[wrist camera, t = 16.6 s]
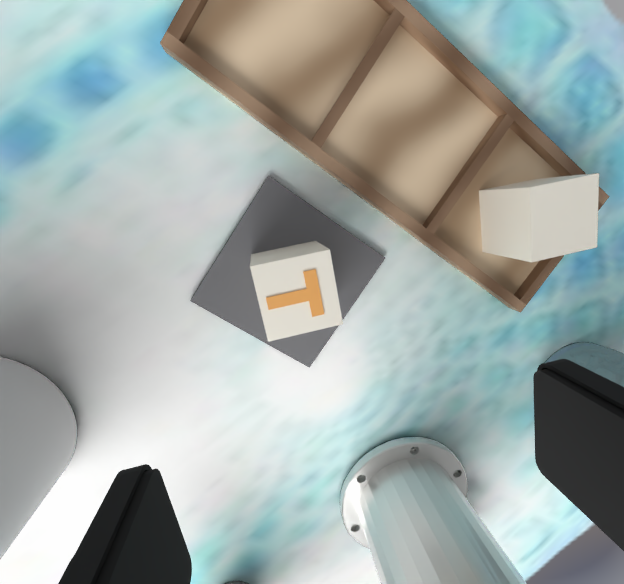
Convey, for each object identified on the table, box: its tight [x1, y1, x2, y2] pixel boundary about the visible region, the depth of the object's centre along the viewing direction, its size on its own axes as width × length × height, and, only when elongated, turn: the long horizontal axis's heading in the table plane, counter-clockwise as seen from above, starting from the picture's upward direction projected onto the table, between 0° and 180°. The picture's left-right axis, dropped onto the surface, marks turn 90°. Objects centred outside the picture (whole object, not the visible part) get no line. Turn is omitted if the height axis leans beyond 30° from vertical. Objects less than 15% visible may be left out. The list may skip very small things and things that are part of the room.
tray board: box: [160, 0, 609, 312], centre depth 26 cm, size 33×12×1 cm, turn 56°
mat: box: [190, 176, 385, 367], centre depth 28 cm, size 11×11×1 cm
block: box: [479, 173, 599, 262], centre depth 26 cm, size 5×5×6 cm
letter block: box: [250, 241, 343, 342], centre depth 25 cm, size 5×5×6 cm
